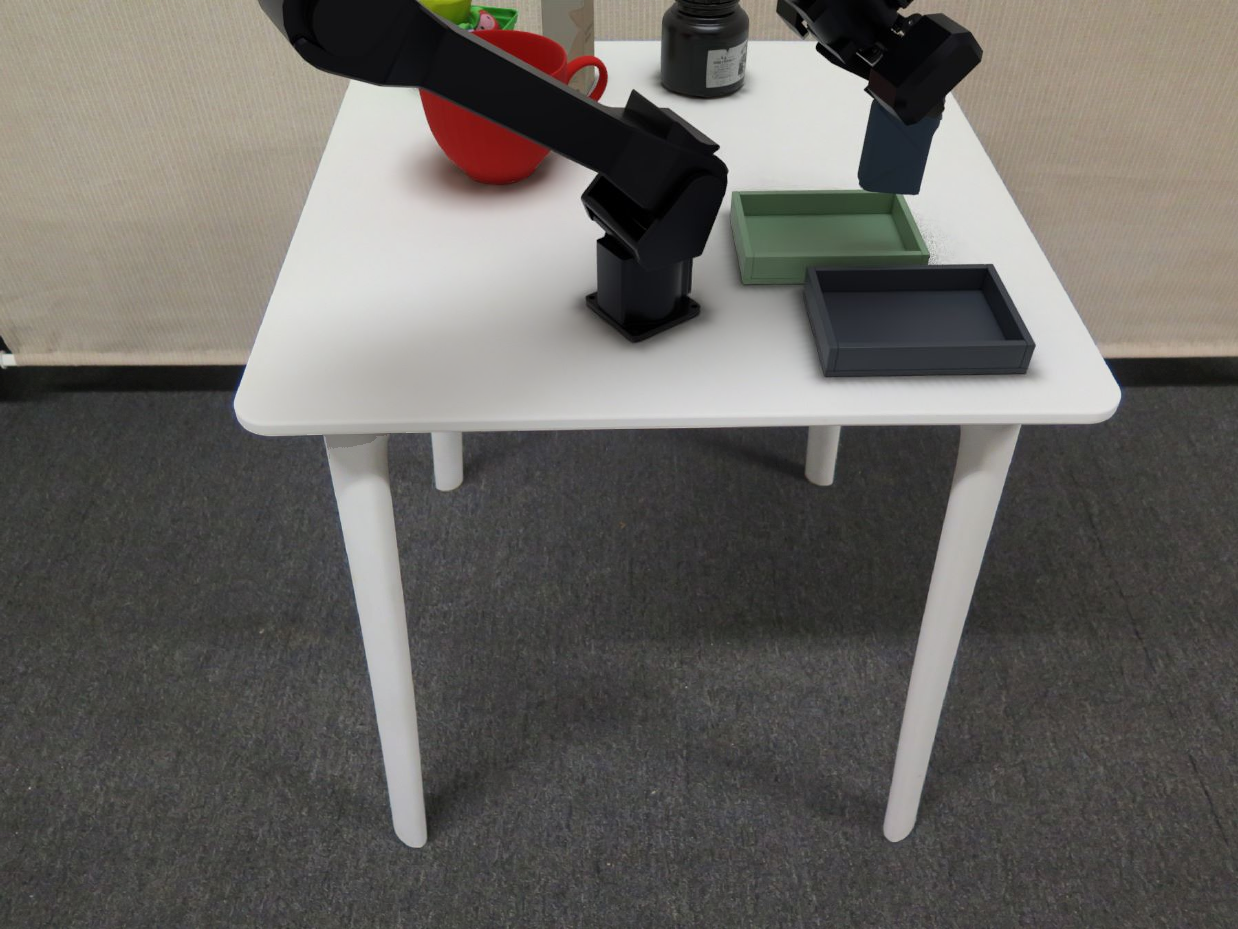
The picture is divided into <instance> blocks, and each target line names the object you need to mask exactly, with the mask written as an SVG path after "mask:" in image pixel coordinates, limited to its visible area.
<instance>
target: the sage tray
mask: <svg viewBox="0 0 1238 929" xmlns="http://www.w3.org/2000/svg"><path fill="white" fill-rule="evenodd" d="M730 197H731V198H730V208H729V209H730V210H729V221H730V225H731V231H732V236H733V240H734V246H735V251H736V256H737V260H738V265H739V271H740V275H741V280H742V284H743V285H791V284H792V285H794V284H798V285H799V284H801V285H802V284H803V285H804V280H805V273H806V267H807V266H814V267H815V266H870V265H929V261H930V257H931V253H930V250H929V248H928V246H927V243H926V242H925V240H924V238H923V235H922V234H921V230H920V229H919V227H918V224H917V222H916V220H915V218H914V215H913V214H912V211H911V209H910V207H909V204H908V202H907V200H906V198H905V195H901V194H889V193H878V192H869V191H866V190H864V189H798V190H796V189H795V190H791V189H790V190H787V189H786V190H732V191H731V196H730Z"/></svg>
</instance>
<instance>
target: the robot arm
mask: <svg viewBox="0 0 1238 929" xmlns="http://www.w3.org/2000/svg"><path fill="white" fill-rule="evenodd" d="M914 1H915V0H776V6H775V7H776V8H775V13H776V14H777V15H778V17H779V19H781V20H782V21H783V23H784V24H785V25H786V26H787V27H788V29H789V30H791V31H792V32H793V33H794V34H795V35H797V36H798V37H799V38H800V39H802V40H803V41H805V40H806V39H807V38H808V37H809V36H810V35H811V36H812V38H813V39H815V40H816V41H817V42H816V44H815V51H816V52H817V53H818V54H819V55H821V56H822V57H823V58H824V59H826V60H827V61H828V62H829V63H830V64H832V65H834V66H836V67H838V68H840V69H843V70H845V71H846V72H849V73H851V74H853V75H855V76H857V77H859V78H861V79H863V80H865V81H868V82H867V85H866V86H865V87H864V88H863V91H864V92H865V93H866V94H867V95H868V96H870V98H872V100H873V99H875V100H876V101H877V102H878V103H879V104H881V105H882V106H883V107H884V108H885V109H886V110H887V111H889V112H890V113H891V114H892V115H893V116H895V117H896V118H897V119H898V120H899V121H901V122H902V123H903V124H904V125H905V126H909V125H913V124H917V123H918V122H919V121H920V120H921V119H922V118H924V117H925V118H928V119H931V120H935V119H936V118H937V117H938V116H939V115H941V114H942V115H943V113H944V112H945V109H946V107H945V105H944V102H943V98H944V97H945V96H946V97H947V95H948V94H950V92H951V91H952V90H954V89H955V88H956V87H957V86H958V85H959V84H960V83H961V82H962V81H963V80H964V79H965V78H966V77H967V76H968V75H969V74H970V73H971V72H972V71H973V70H974V69H975V68H977V67H978V65H979V64H980V63H982V60H983V54H984V50H983V48H982V47H981V45H980V43H979V42H978V41H977V39H976V38H975V36H974V35H973V32H972V31H971V30H969V29H967V28H966V27H964V26H963V25H961V24H960V23H958V21H955V20H953V19H952V18H951V17H949V16H948V15H946V14H945V13H944V12H937V13H928V14H927V13H926V14H921V13H919V12H914V13H911V14H910V15H908V16H904V15H902V14H901V13H899V12H898V11H899V10H900V9H902V10H906V9H907V8H908V7H909V6H910V5H912V3H913V2H914ZM257 2H258V3H257V4H258V5H259V7H260V9H261V10H262V11H263V12H264V14H265V15H266V16H267V18H268V19H269V20H270V21H271V22H272V24H273V25H274V26H275V27H276V29H277V30H278V31H279V33H281V35H282V36H283V37H284V38H285V40H287V42H288V43H289V44H290V46H291V47H292V48H293V49H294V50H295V51H296V53H297V54H298V55H299V56H300V57H301V59H303V61H305V63H308V64H309V65H310V66H312V67H313V68H314V69H316V70H318V71H322V72H323V73H327V74H330V75H333V76H337V77H341V78H345V79H350V80H353V81H357V82H360V83H365V84H368V85H373V86H376V87H381V88H397V89H399V88H401V89H417V90H419V89H421V90H425V91H428V92H430V93H432V94H434V95H436V96H438V97H440V98H442V99H444V100H446V101H448V102H451V103H453V104H455V105H457V106H459V107H461V108H463V109H465V110H467V111H469V112H471V113H474V114H476V115H478V116H480V117H482V118H484V119H486V120H488V121H490V122H492V123H494V124H496V125H499V126H501V127H503V128H505V129H507V130H509V131H511V132H513V133H515V134H517V135H519V136H522V137H524V138H526V139H528V140H530V141H532V142H534V143H536V144H538V145H540V146H542V147H544V148H547V149H549V150H550V152H553V153H555V154H557V155H559V156H561V157H563V158H566V159H568V160H570V161H571V162H574V163H576V164H578V165H580V166H582V167H584V168H586V169H588V170H590V171H593V172H595V173H596V175H595V176H594V178H593V179H592V180H591V182H590V183H589V184H588V186H587V187H586V188H585V189H584V191H583V192H582V193H581V195H580V201H581V203H582V206H583V208H584V211H585V213H586V215H587V217H588V218H589V220H591V221H593V222H595V223H596V224H597V225H598V226H599V227H600V228H601V229H602V230H603V231H604V234H603V236H602V237H599V238H597V239H596V240H595V243H596V245H595V246H596V248H595V250H596V291H594V292H591V293H588V294H587V295H585V297H584V298H585V304H586V306H588V307H590V308H591V309H592V310H593V311H594V312H595V313H596V314H598V315H599V316H600V317H602V318H603V319H604V320H605V321H607V323H609V324H610V325H611V326H613V327H614V328H615V329H616V330H618V331H619V332H620V333H621V334H622V335H624V336H625V337H626V338H628V340H630V341H633V342H640V341H641V340H643V339H646V338H648V337H650V336H652V335H655V334H657V333H659V332H661V331H663V330H665V329H668V328H670V327H673V326H674V325H677V324H679V323H681V322H683V321H686V320H688V319H691V318H693V317H695V316H697V315H699V314H701V310H702V306H701V304H700V303H699V302H697V301H695V300H694V299H693V298H692V297H690V296H689V294H691V293H692V285H693V284H692V283H693V281H692V280H693V268H694V267H693V265H694V259H696V258H698V257H701V256H702V255H703V253H704V251H705V248H706V246H707V243H708V241H709V238H710V235H711V232H712V230H713V227H714V225H715V222H716V220H717V217H718V214H719V211H720V209H721V207H722V204H723V200H724V198H725V196H726V193H727V187H728V183H729V182H728V180H729V179H728V178H729V177H728V174H729V172H730V171H729V168H728V165H727V164H726V162H724V161H723V160H722V159H721V158H720V157H718V155H716V153H717V152H718V151H720V149H721V145H720V144H718V142H715V141H714V140H713V139H711V137H709V136H707V135H706V134H705V133H703V131H700V129H698V128H697V127H695V126H694V125H692V123H690V122H688V120H686V119H685V118H684V117H682V116H680V115H679V114H678V113H676V112H675V111H674V110H673V109H671V108H669V107H659V106H657V105H656V104H655V103H653V102H652V101H651V100H649V99H648V98H646V96H644V95H643V94H641V93H640V92H639V91H638V90H636V89H635V88H633V89H631V91H630V94H629V96H628V99H627V101H626V103H625V106H623V107H620V106H615V107H614V106H608V105H605V104H603V103H601V102H599V101H598V102H597V101H595V100H593V99H591V98H590V97H588V96H589V95H588V96H587V95H584V94H582V93H580V92H579V91H577V90H575V89H573V88H571V87H569V86H568V85H566V84H564V83H562V82H560V81H558V80H557V79H555V78H553V77H551V76H549V75H547V74H546V73H544V72H542V71H540V70H538V69H536V68H535V67H533V66H531V65H529V64H527V63H525V62H524V61H522V60H520V59H518V58H516V57H514V56H513V55H511V54H509V53H507V52H505V51H504V50H502V49H500V48H498V47H496V46H494V45H493V44H491V43H489V42H487V41H485V40H483V39H482V38H480V37H478V36H476V35H474V34H472V33H471V32H469V31H467V30H465V29H463V28H461V27H460V26H458V25H456V24H454V23H452V22H450V21H449V20H447V19H445V18H443V17H441V16H439V15H438V14H436V13H434V12H432V11H431V10H429V9H428V8H427V7H426V6H425V5H423V4H422V3H421V2H420V1H419V0H257ZM803 22H806V26H805V25H804V23H803Z"/></svg>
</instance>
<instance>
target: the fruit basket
mask: <svg viewBox="0 0 1238 929" xmlns="http://www.w3.org/2000/svg"><path fill="white" fill-rule="evenodd" d="M419 1H420V2H421V3H422V4H423V5H425V6H426V7H427V8H428V9H429V10H431V11H432V12H434V13H436V14H438V15H439V16H441V17H443V18H445V19H447V20H449V21H450V22H452V23H454V24H456V25H458V26H460V27H461V28H463V29H465V30H467V31H469V32H471V31H480V30H515V27H516V24H517V22H518V16H519V10H517V9H515V8H511V7H510V8H509V7H498V6H487V5H478V4H477V5H475V4H472V3H473V0H419Z"/></svg>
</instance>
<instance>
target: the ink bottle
mask: <svg viewBox="0 0 1238 929" xmlns="http://www.w3.org/2000/svg"><path fill="white" fill-rule="evenodd" d="M740 1H741V0H674V2H673V3H672V5H671V6H670V7H668V9H666V11H665V12H664V13H663V15H662V18H661V31H660V32H661V33H660V35H661V36H660V64H659V65H660V66H659V67H660V70H659V75H660V76H659V77H660V80H661V81H660V82H661V83H662V85H664V86H665V88H667V89H669V90H671V91H673V92H676V93H678V94H683V95H688V96H693V97H694V96H696V97H720V96H725V95H728V94H730V93H733V92H735V91H736V90H738V89H740V87H742V85H743V84H744V81H745V78H746V68H747V57H748V46H749V34H750V18H749V15H748V14H747V12H746V11H745V9H744V8H743V7H742V6H741V5H740V4H739V3H740Z"/></svg>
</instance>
